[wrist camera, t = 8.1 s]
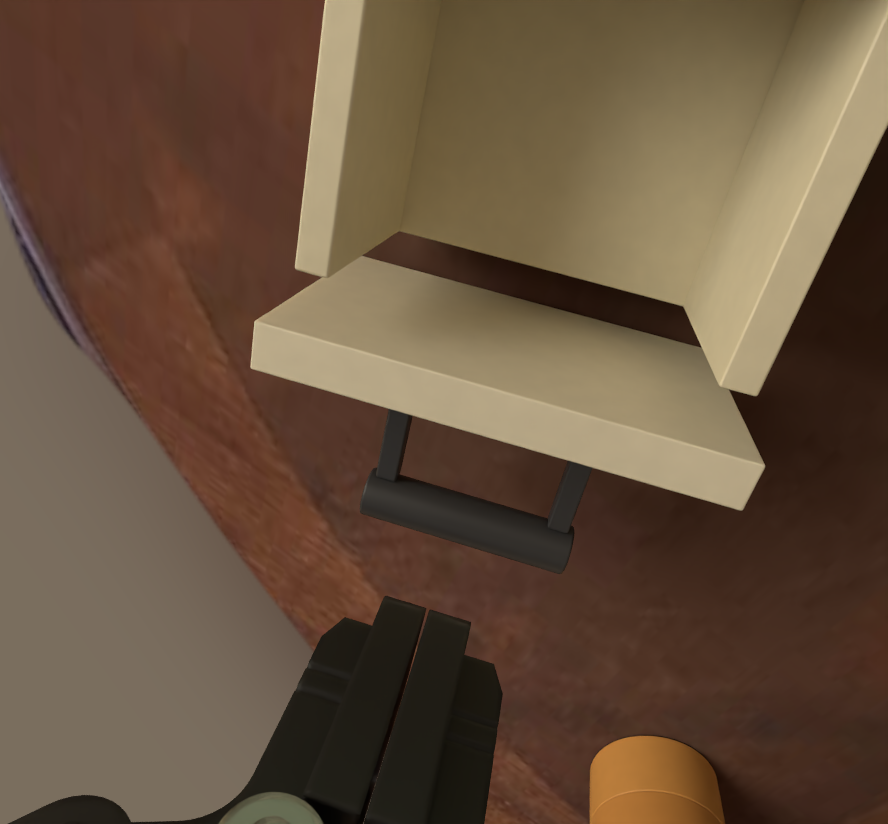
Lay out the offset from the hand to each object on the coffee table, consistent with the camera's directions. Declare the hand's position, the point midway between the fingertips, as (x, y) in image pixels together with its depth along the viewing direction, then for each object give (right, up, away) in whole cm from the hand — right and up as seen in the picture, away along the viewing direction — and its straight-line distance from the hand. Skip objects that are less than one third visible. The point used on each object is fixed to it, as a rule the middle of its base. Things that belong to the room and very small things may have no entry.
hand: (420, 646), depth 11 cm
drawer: (+4, +10, +8) cm, 14 cm away
